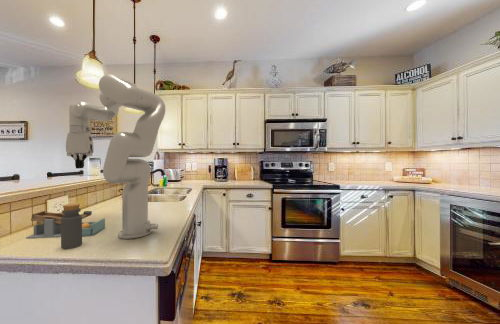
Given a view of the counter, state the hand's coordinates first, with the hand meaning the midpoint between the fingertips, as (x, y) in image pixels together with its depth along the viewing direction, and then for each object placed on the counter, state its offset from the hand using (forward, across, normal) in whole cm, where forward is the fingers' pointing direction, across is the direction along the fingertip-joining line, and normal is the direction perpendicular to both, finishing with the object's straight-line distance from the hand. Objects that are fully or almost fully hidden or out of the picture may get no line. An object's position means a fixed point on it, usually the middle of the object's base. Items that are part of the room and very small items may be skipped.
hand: (79, 168), depth 103 cm
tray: (+27, -11, +14) cm, 32 cm away
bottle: (+27, -14, +29) cm, 42 cm away
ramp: (+23, +1, +9) cm, 25 cm away
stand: (+27, +1, +14) cm, 31 cm away
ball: (+25, -10, +14) cm, 30 cm away
